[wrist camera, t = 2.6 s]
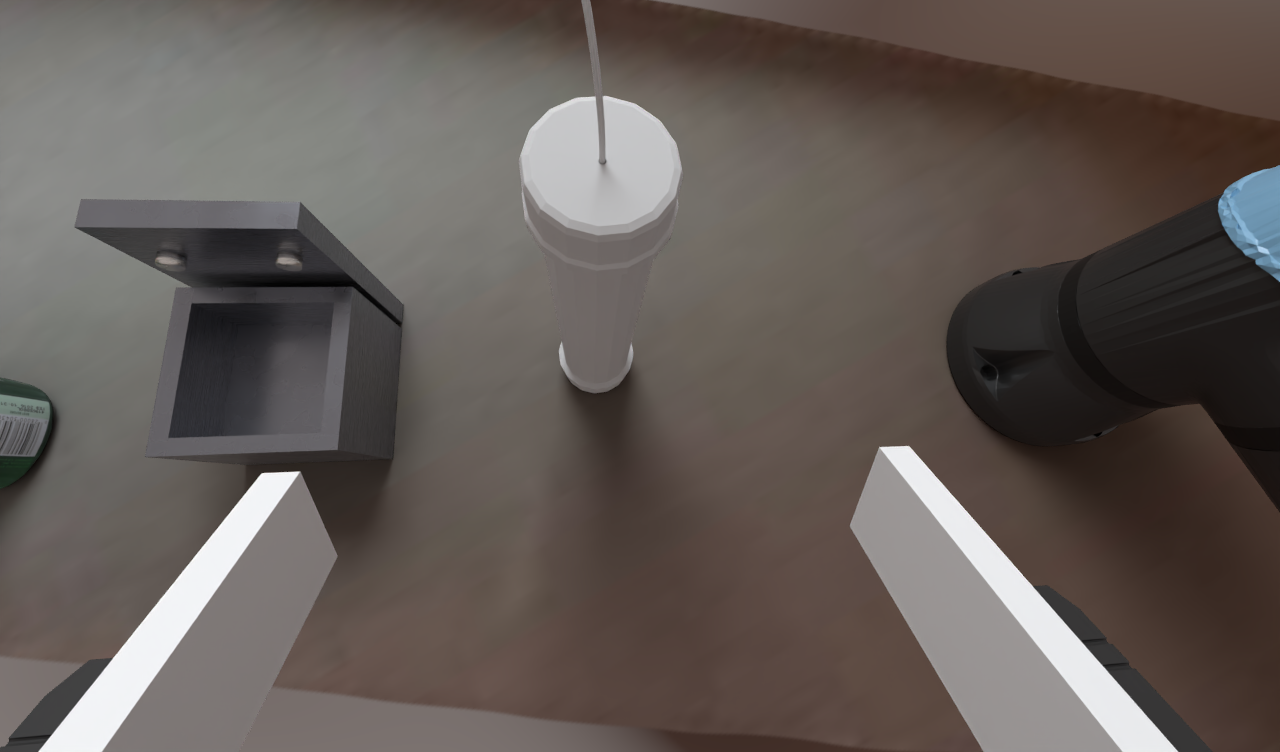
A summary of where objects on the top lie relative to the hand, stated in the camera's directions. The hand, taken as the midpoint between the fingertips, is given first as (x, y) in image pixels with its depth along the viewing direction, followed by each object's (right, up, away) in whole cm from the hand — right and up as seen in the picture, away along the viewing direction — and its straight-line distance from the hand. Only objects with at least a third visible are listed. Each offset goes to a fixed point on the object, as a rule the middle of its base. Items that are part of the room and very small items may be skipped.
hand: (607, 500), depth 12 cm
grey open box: (-23, +3, +25) cm, 34 cm away
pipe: (-3, +4, +27) cm, 28 cm away
